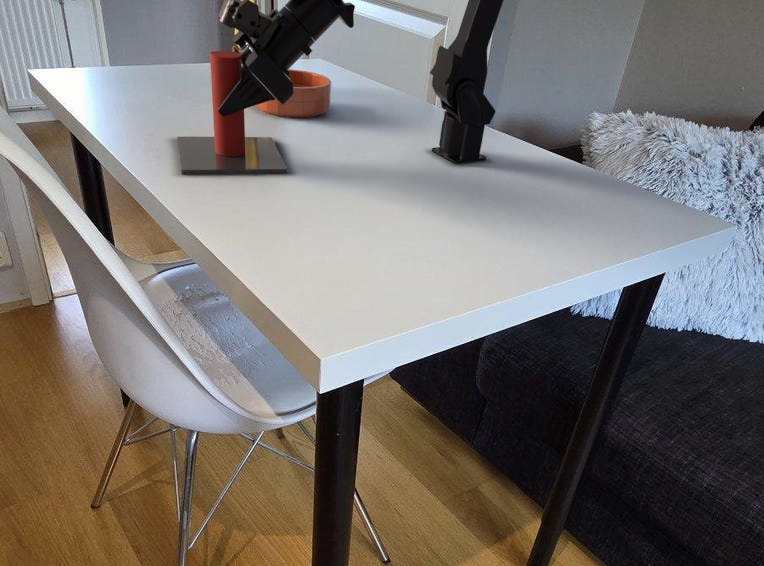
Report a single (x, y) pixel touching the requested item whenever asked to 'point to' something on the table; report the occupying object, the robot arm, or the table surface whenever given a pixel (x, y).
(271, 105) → the pot
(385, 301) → the table surface
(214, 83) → the red tall cylinder
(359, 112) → the table surface
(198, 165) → the coaster
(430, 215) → the table surface
